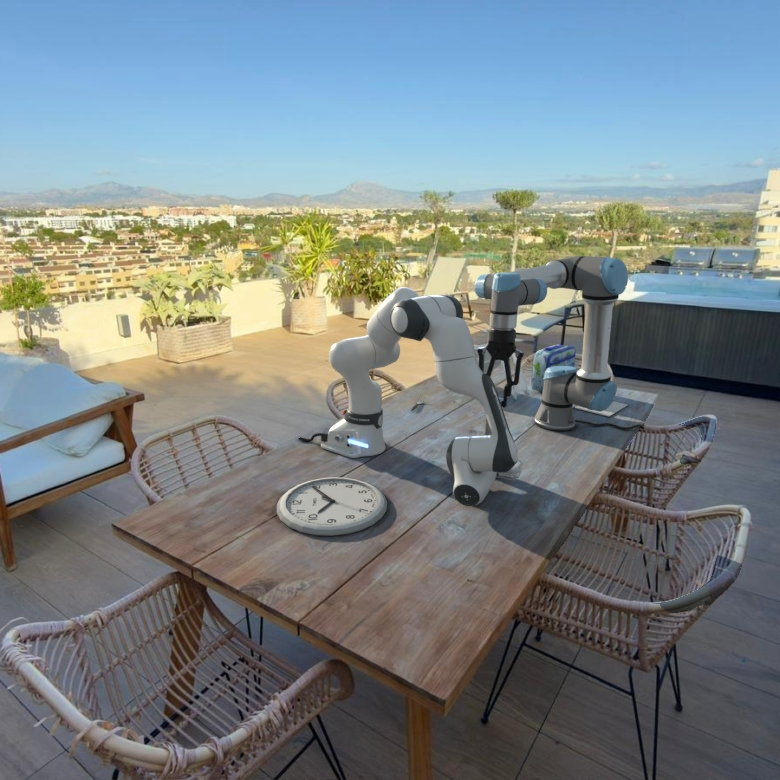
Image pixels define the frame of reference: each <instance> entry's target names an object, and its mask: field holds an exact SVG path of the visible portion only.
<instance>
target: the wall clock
mask: <svg viewBox="0 0 780 780" xmlns="http://www.w3.org/2000/svg"><path fill="white" fill-rule="evenodd" d="M387 509H388V500H387V498H386V496H385V494H384V493H383V492H382V491H381V490H380V489H379V488H377V487H376V486H374V485H372V484H371V483H369V482H365V481H362V480H359V479H355V478H349V477H338V476H337V477H335V476H333V477H332V476H331V477H322V478H317V479H312V480H307V481H305V482H302V483H299V484H297V485H295V486H293V487H292V488H290V489H288V490H287V491H286V492H285V493H284V494H283V495H281V496H280V498H279V499H278V502H277V503H276V515H277V517H278V518H279V520H280V521H281V522H282V523H283V524H285V525H286V526H287V527H288V528H290V529H293V530H295V531H297V532H299V533H303V534H308V535H312V536H327V537H328V536H329V537H331V536H332V537H333V536H342V535H350V534H352V533H356V532H361V531H363V530H366V529H368V528H369V527H372V526H373V525H375V524H376V523H378V522H379V521H380V520H381V519H382V518H383V517H384V516H385V514H386V512H387Z"/></svg>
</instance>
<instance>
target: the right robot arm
mask: <svg viewBox="0 0 780 780" xmlns="http://www.w3.org/2000/svg"><path fill="white" fill-rule="evenodd" d="M628 282H629V272H628V268H627V265H626V264H625V262H624V261H623V260H622V259H620V258H617V257H616V258H615V257H610V256H588V255H587V256H586V255H573V256H569V257H564V258H560V259H555V260H554V259H553V260H550V261H548V262H547V263H546V264H545V265H540V266H535V267H529V268H524V269H518V270H513V271H508V272H497V273H495V274H491V273H487V274H480V275H479V276H478V277H477V278H476V280H475V281H474V293H475V295H476V296H477V297H478V298H480V299H484V300H490V301H491V303H490V313H489V314H490V315H489V327H490V328H489V329H488V339H487V340H488V341H487V343H488V344H487V343H486V344H487V345H486V347H479V349H478V350H477V352H478V355H479V367H480V369H481V370H482V372H483V373H484V354H485V353H486V350H487V351H488V352H489V354H490V356H491V360H490V364H489V367H488V370H487V373H486V375H489V376H490V378H492V377H491V376H492V373H493V371H494V370H493V367H494V364H495V361H496V360H502V361H504V365H505V372H506V377H505V380H506V379H507V380H506V383H505V385H504V387H503V388H504V389H503V407H502V409H506V407H507V405H508V398H509V397H510V398H511V395H512V394H511V392H512V386H513V385H514V386H518V384H519V382H520V379H519V376H520V368H522V359H523V357H524V355H525V351H524V350H520V349H517V346H516V335H517V334H516V333H517V331H516V328H517V324H518V323H517V321H518V311H519V306H531V305H532V306H533V305H536V304H540V303H542V302H543V301H545V299H546V298H547V296H548V289H551V290H557V289H567V290H573V291H574V290H575V291H581V293H582V294H581V299H582V300H583V301H584V302H585V313H584V328H583V341H582V352H581V353H582V354H581V364H580V365H581V367H580V368H579V369H578V368H577V367H576V366H574V367H572V366H554V367H550V368H547V369H546V371H545V374H544V378H543V379H544V382H543V391H541V393H542V394H541V402H540V405H539V407H538V410H537V411H536V413H535V416H534V424H535V425H536V426H537V427H539V428H542V429H544V430H549V431H556V432H567V431H572V430H574V429H575V428H576V423H577V424H584V425H588V426H589V425H590V426H594V427H602V426H611V427H614V428H617V429H619V430H623V431H624V430H625V431H628V430H633V429H635V428H640V429H641V430H645V427H644V426H643V425H641V424H635V425H632V426H627V427H624V426H620V425H617V424H614V423H612V422H602V423H594V422H590V421H584V420H578V419H576V418H575V417H576V416H575V413H574V407H573V405H574V406H580V407H584V408H587V409H589V410H595V411H604V410H606V409H607V408H608V407H609V406H610V405H611V403H612V402H613V401H614V400H615V398H616V395H617V391H618V385H617V384H616V382H615V381H613V380H611V379H612V373H611V372H610V371H609V369H608V363H609V354H610V353H609V352H610V340H611V330H612V321H613V320H612V319H613V309H614V308H613V307H614V303H615V302H616V301H618V299H619V296H620V295H622V294H623V293H624V292H625V291H626V288H627V287H626V286H628ZM513 353H515V354H516V355H515V356H516V358H517V360H516V366H515V368H514V377H513V375H512V370H511V369H512V368H511V360H510V359H509V358H510V357H511V355H512V354H513ZM492 370H493V371H492Z"/></svg>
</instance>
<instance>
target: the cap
mask: <svg viewBox="0 0 780 780" xmlns="http://www.w3.org/2000/svg"><path fill="white" fill-rule="evenodd" d="M499 399H500V403H501V406H502V408H503V399H504V397H499Z"/></svg>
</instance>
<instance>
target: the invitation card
mask: <svg viewBox="0 0 780 780" xmlns="http://www.w3.org/2000/svg"><path fill="white" fill-rule="evenodd" d="M628 406H629V404H627V403H623V402H618V401H614V400H613V402H612V403H611V405H610V406H609V407H608V408H607V409H606V410H604V411H595V410H589V409H587V408H584V407H580V406H577V405H575V406H574V407H573V409H575V410H581V411H584V412H587V413H593V414H596V415H600V416H604V417H608V418H609V417H611V416H613V415H614V414H616V413H617V412H619V411H621V410H623V409H624V408H626V407H628Z"/></svg>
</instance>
